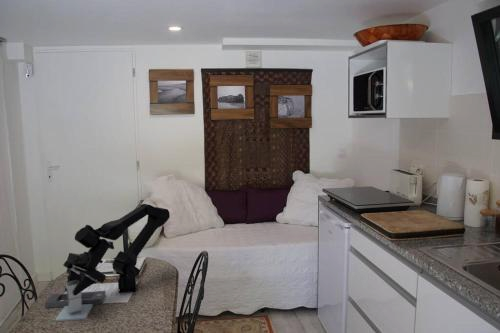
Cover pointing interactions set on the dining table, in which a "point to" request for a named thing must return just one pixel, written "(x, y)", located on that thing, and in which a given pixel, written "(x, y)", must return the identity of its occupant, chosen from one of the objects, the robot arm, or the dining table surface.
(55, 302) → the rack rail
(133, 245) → the robot arm
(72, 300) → the block
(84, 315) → the tile
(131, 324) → the dining table surface
